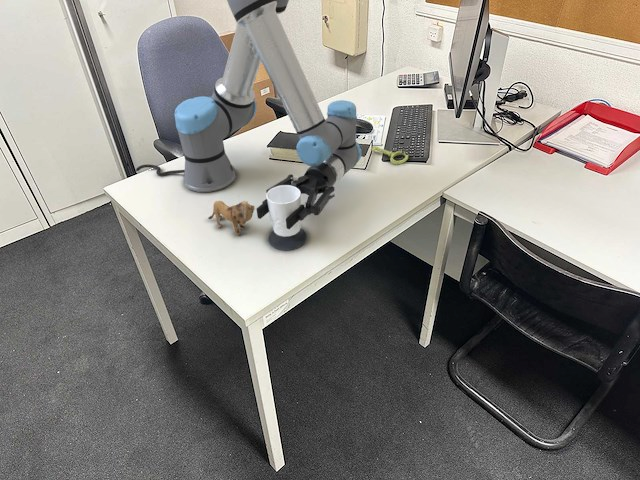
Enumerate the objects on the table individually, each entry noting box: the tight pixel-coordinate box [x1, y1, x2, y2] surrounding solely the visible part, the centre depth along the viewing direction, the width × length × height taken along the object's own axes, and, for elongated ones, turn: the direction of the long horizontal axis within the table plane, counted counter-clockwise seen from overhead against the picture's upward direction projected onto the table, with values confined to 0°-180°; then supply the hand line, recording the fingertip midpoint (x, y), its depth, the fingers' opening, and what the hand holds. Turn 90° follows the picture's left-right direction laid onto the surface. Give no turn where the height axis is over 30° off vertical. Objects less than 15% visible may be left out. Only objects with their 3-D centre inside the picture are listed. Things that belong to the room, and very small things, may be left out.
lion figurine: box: [208, 200, 256, 236], centre depth 108 cm, size 15×5×9 cm, turn 65°
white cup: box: [265, 185, 302, 237], centre depth 101 cm, size 8×8×10 cm
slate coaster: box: [267, 227, 308, 252], centre depth 106 cm, size 10×10×1 cm
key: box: [370, 145, 409, 165], centre depth 136 cm, size 7×12×2 cm, turn 71°
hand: (272, 218), depth 97 cm, fingers closed on white cup, 8 cm apart
